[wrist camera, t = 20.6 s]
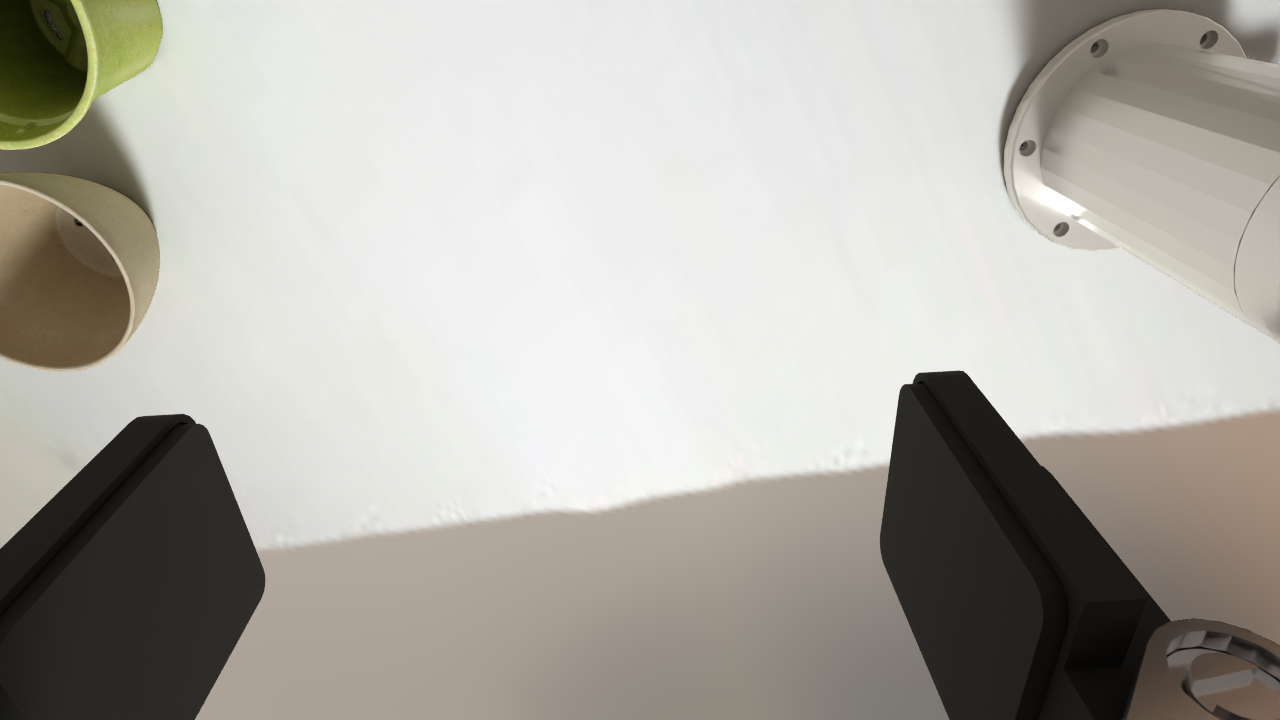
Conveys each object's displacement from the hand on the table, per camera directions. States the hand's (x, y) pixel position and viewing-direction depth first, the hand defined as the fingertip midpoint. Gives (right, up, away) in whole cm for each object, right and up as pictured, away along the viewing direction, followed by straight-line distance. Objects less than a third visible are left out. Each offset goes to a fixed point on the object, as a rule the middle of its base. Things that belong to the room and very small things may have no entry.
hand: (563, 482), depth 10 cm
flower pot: (-29, +9, +32) cm, 44 cm away
